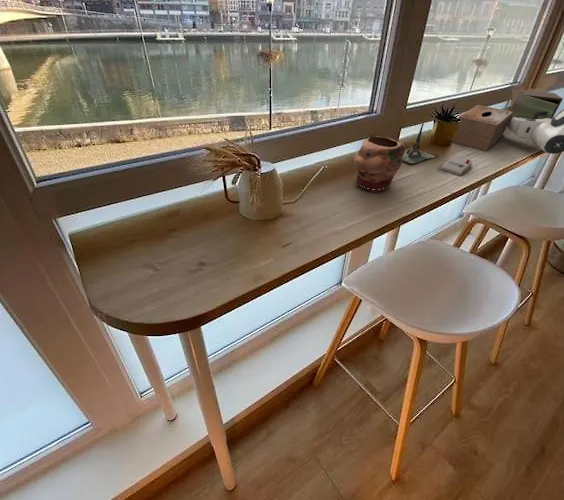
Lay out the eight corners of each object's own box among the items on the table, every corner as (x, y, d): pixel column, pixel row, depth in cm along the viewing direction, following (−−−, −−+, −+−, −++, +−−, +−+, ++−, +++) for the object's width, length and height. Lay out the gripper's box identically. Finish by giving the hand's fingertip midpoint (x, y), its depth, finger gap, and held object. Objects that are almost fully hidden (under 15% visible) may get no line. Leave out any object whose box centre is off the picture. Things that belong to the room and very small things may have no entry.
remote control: (438, 170, 113) (441, 162, 111) (455, 158, 122) (459, 150, 120) (457, 177, 109) (461, 168, 107) (474, 164, 118) (477, 156, 116)
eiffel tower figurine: (413, 148, 129) (423, 112, 120) (435, 156, 123) (448, 120, 114) (388, 155, 122) (397, 119, 113) (411, 165, 115) (422, 127, 107)
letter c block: (528, 140, 140) (546, 105, 131) (500, 129, 150) (515, 96, 142) (539, 139, 142) (558, 104, 133) (511, 128, 152) (526, 95, 143)
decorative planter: (380, 169, 112) (389, 128, 103) (410, 182, 105) (423, 140, 96) (339, 184, 102) (346, 140, 93) (369, 200, 95) (380, 154, 86)
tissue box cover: (486, 150, 129) (497, 125, 123) (449, 141, 136) (458, 116, 130) (502, 135, 144) (513, 111, 138) (469, 127, 152) (477, 104, 145)
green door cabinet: (544, 132, 150) (563, 98, 141) (510, 128, 153) (525, 95, 144) (537, 125, 158) (554, 92, 149) (504, 121, 161) (519, 89, 152)
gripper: (579, 126, 122) (565, 116, 133) (519, 119, 127) (510, 110, 137) (569, 142, 126) (556, 131, 137) (511, 135, 130) (503, 125, 141)
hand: (533, 120), depth 137 cm, fingers open, 8 cm apart
